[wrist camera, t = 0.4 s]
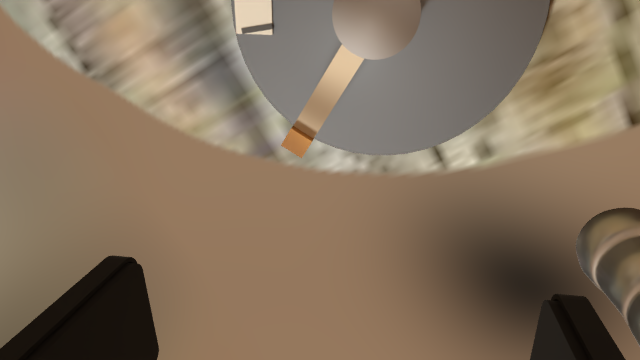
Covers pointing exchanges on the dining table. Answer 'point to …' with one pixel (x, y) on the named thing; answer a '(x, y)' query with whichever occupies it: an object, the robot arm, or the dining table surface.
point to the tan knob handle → (354, 56)
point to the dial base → (393, 68)
